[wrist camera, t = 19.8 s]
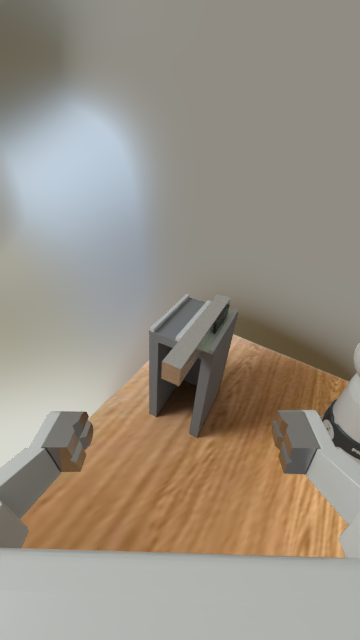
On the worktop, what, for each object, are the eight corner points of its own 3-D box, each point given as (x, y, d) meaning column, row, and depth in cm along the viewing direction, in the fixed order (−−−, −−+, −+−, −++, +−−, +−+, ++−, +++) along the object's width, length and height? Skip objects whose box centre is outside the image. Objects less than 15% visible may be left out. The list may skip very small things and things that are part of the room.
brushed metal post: (215, 307, 55) (217, 293, 53) (229, 312, 54) (233, 298, 52) (161, 378, 37) (161, 361, 35) (182, 387, 35) (184, 370, 33)
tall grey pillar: (178, 372, 73) (185, 293, 58) (219, 389, 69) (239, 309, 53) (149, 413, 61) (149, 327, 46) (196, 437, 56) (214, 351, 41)
